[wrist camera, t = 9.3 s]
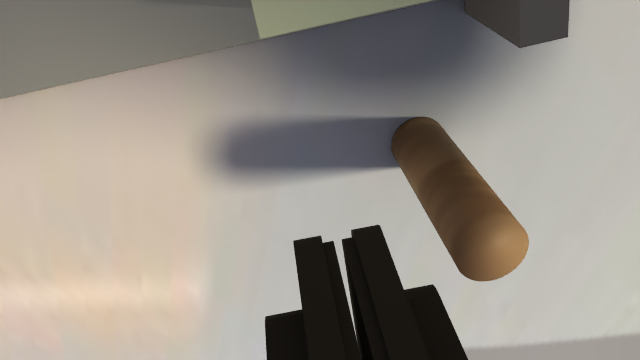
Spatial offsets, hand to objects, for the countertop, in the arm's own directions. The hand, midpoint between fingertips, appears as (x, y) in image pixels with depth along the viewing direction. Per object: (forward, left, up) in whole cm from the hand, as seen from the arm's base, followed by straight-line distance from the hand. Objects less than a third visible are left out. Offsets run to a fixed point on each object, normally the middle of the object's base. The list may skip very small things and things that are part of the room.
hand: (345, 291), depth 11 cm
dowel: (-6, +7, -19) cm, 21 cm away
